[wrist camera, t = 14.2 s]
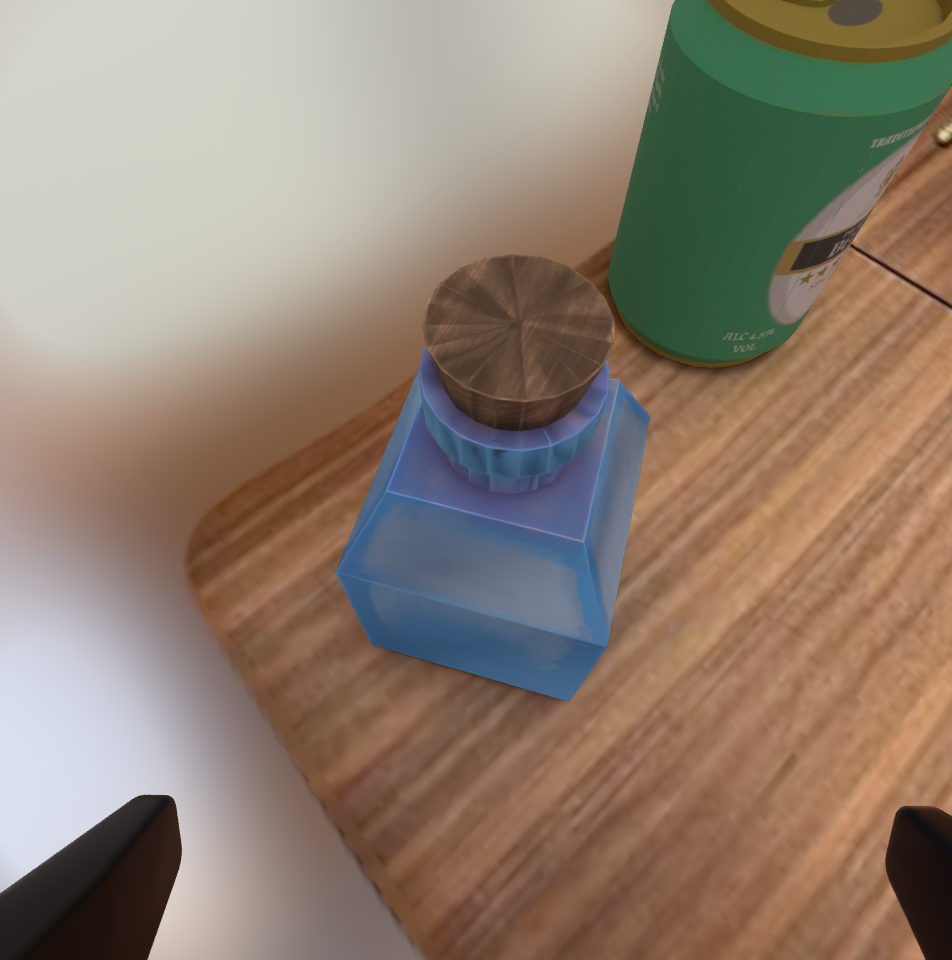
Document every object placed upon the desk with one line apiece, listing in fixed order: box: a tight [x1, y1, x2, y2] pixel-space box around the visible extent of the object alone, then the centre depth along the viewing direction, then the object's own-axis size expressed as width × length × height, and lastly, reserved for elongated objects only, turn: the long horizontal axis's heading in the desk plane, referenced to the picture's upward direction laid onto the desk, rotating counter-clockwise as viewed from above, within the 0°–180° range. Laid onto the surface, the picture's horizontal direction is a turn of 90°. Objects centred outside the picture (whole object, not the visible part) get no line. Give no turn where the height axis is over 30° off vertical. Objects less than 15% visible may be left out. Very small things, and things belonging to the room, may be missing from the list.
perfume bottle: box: [336, 255, 650, 702], centre depth 16 cm, size 6×6×12 cm
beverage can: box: [608, 0, 952, 368], centre depth 23 cm, size 8×8×12 cm
